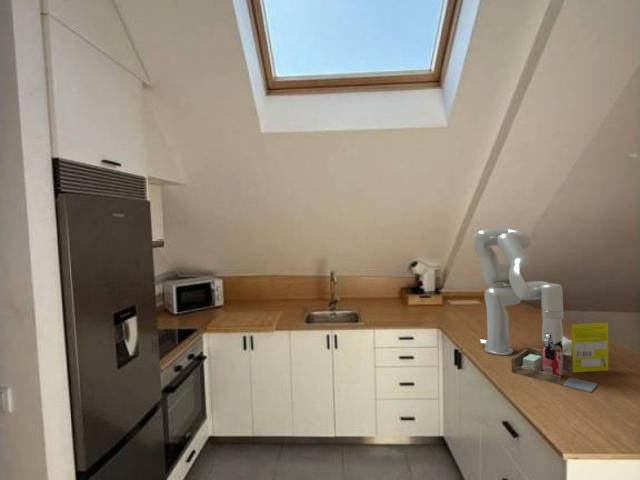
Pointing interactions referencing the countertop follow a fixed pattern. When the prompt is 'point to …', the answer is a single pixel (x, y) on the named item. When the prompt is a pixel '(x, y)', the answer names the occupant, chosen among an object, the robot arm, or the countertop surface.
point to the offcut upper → (532, 361)
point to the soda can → (554, 362)
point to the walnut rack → (518, 362)
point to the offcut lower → (536, 367)
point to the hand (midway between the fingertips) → (554, 356)
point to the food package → (590, 347)
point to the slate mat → (580, 384)
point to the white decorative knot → (566, 346)
